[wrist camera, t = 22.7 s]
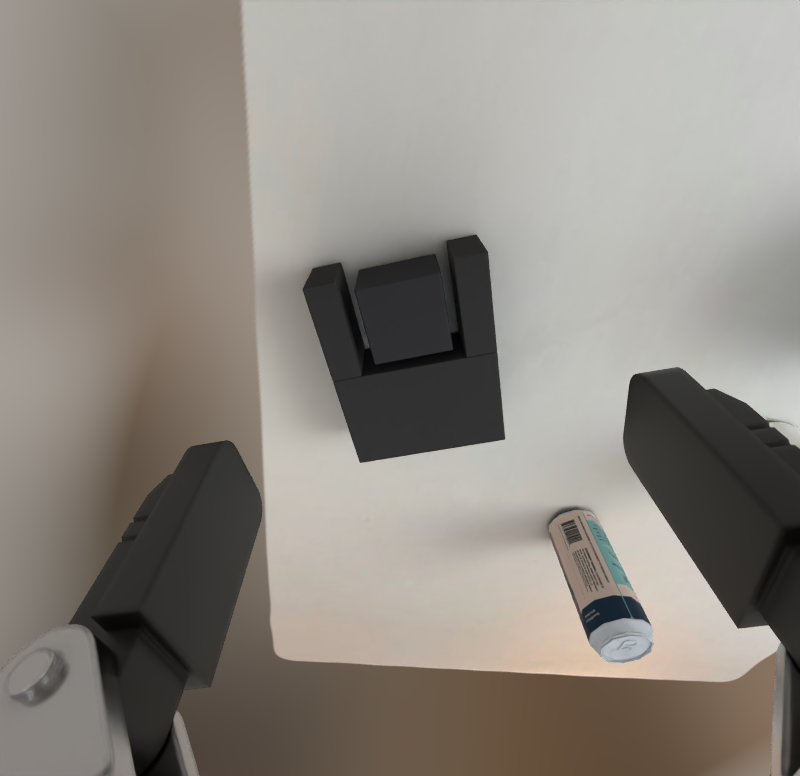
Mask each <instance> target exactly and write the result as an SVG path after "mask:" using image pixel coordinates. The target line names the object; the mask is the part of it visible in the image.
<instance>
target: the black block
mask: <svg viewBox="0 0 800 776" xmlns="http://www.w3.org/2000/svg"><path fill="white" fill-rule="evenodd" d="M355 294H356V298H357V302H358V305H359V309H360V313H361V316H362V320H363V323H364V327H365V331H366V334H367V338H368V341H369V345H370V349H371V352H372V356H373V359H374V363H375V364H381V363H386V362H392V361H397V360H402V359H407V358H413V357H418V356H423V355H428V354H433V353H439V352H444V351H449V350H453V345H452V338H451V332H450V326H449V320H448V314H447V308H446V302H445V296H444V290H443V283H442V277H441V272H440V269H439V265H438V262H437V258H436V255H435V254H432V255H427V256H423V257H418V258H413V259H409V260H404V261H399V262H395V263H390V264H385V265H381V266H376V267H371V268H367V269H362V270H359V273H358V278H357V283H356V287H355Z"/></svg>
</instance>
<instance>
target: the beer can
mask: <svg viewBox="0 0 800 776" xmlns="http://www.w3.org/2000/svg"><path fill="white" fill-rule="evenodd" d="M549 535H550V538H551V541H552V543H553V546H554V549H555V551H556V554H557V557H558V560H559V562H560V565H561V568H562V570H563V573H564V576H565V579H566V581H567V584H568V587H569V589H570V592H571V595H572V598H573V600H574V603H575V606H576V608H577V611H578V614H579V616H580V619H581V622H582V625H583V627H584V630H585V633H586V635H587V638H588V641H589V643H590V645H591V647H592V648H594V650H595V651H596V652H597V653H598V654H599V655H600V657H602V658H603V659H605V660H606V661H608V662H615V663H626V662H630V661H634V660H638V659H641V658H642V657H644V656H645V655H647V654H648V653H650V652H651V650H652V647H653V629H652V626H651V624H650V622H649V620H648V618H647V616H646V614H645V612H644V610H643V608H642V606H641V604H640V602H639V600H638V598H637V596H636V594H635V592H634V590H633V588H632V586H631V584H630V582H629V580H628V578H627V576H626V574H625V572H624V570H623V568H622V566H621V564H620V562H619V560H618V558H617V556H616V554H615V552H614V550H613V548H612V546H611V544H610V542H609V540H608V538H607V536H606V534H605V532H604V530H603V528H602V526H601V524H600V522H599V520H598V519H597V517H596V516H595V515H594V514H593V513H591V512H588V511H585V510H572V511H569V512H565V513H563V514H560V515H559V516H558V517H556V518H555V519H554V520H553V521H552V522H551V524H550V526H549Z"/></svg>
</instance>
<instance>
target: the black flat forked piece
mask: <svg viewBox="0 0 800 776" xmlns="http://www.w3.org/2000/svg"><path fill="white" fill-rule="evenodd" d="M446 244H447V251H448V258H449V265H450V272H451V279H452V287H453V294H454V301H455V308H456V315H457V322H458V329H459V332H457V333H451V338H452V345H453V350H449V351H444V352H439V353H433V354H428V355H423V356H418V357H413V358H407V359H402V360H397V361H392V362H386V363H381V364H375V363H374V359H373V356H372V352H371V349H365V348H364V344H363V340H362V337H361V333H360V329H359V326H358V322H357V318H356V315H355V311H354V307H353V304H352V300H351V296H350V293H349V289H348V285H347V282H346V278H345V274H344V271H343V267H342V264H341V263H337V264H332V265H327V266H322V267H317V268H313V269H312V271H311V273H310V275H309V277H308V279H307V281H306V283H305V285H304V287H303V292H304V295H305V298H306V301H307V304H308V307H309V310H310V313H311V316H312V319H313V322H314V326H315V329H316V332H317V335H318V338H319V341H320V344H321V347H322V350H323V353H324V356H325V359H326V362H327V365H328V368H329V371H330V374H331V377H332V380H333V383H334V386H335V389H336V392H337V395H338V398H339V401H340V404H341V407H342V410H343V413H344V416H345V419H346V422H347V425H348V428H349V431H350V434H351V437H352V440H353V443H354V446H355V449H356V452H357V455H358V458H359V461H360V463H362V462H369V461H375V460H381V459H387V458H393V457H400V456H406V455H412V454H418V453H424V452H430V451H437V450H443V449H449V448H455V447H461V446H468V445H474V444H480V443H486V442H492V441H499V440H504V439H505V433H504V422H503V411H502V400H501V389H500V378H499V367H498V357H497V346H496V335H495V324H494V313H493V302H492V291H491V281H490V270H489V259H488V252H487V250H486V248H485V247H484V245H483V244H482V242H481V241H480V239H479V238H478V236H477V235H472V236H468V237H463V238H458V239H453V240H448V241H446Z"/></svg>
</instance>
